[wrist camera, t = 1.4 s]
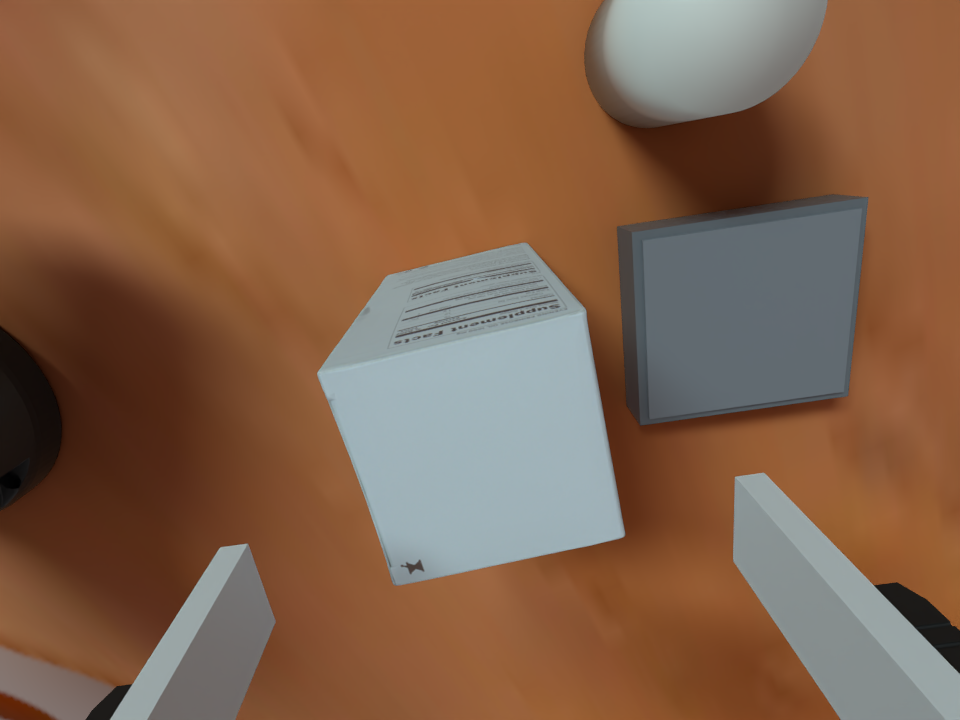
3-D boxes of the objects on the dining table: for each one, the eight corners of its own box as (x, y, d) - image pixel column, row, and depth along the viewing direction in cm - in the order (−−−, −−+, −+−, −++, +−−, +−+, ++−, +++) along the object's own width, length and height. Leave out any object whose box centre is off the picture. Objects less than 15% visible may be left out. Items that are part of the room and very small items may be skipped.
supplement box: (557, 378, 36) (633, 548, 20) (423, 409, 36) (393, 599, 20) (528, 236, 33) (591, 304, 17) (381, 272, 33) (308, 372, 17)
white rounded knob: (589, 137, 31) (637, 127, 22) (578, -18, 28) (629, -96, 20) (721, 117, 31) (821, 99, 22) (723, -41, 28) (836, -129, 20)
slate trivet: (626, 405, 37) (641, 427, 34) (617, 226, 33) (633, 233, 29) (817, 378, 36) (851, 398, 33) (832, 194, 32) (872, 197, 29)
